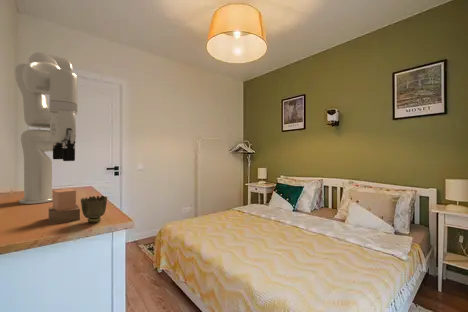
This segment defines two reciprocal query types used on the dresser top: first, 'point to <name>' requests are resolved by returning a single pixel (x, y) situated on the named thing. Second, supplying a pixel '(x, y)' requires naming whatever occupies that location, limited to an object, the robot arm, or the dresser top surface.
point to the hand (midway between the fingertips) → (63, 160)
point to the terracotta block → (64, 199)
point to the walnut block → (63, 215)
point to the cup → (93, 208)
